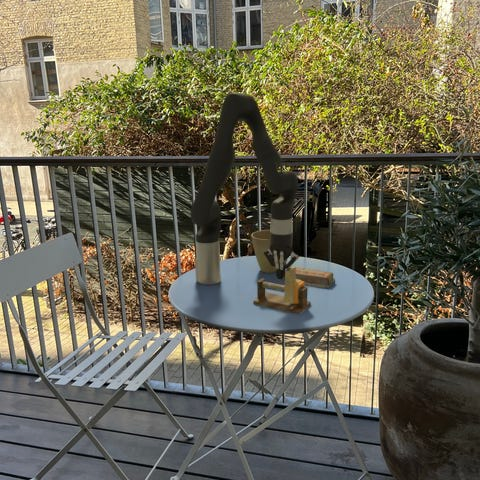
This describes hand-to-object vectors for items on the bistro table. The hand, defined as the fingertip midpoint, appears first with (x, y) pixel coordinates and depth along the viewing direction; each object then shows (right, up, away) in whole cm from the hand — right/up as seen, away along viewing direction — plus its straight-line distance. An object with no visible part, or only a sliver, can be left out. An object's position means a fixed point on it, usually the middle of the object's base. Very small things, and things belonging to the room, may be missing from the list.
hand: (280, 278), depth 158 cm
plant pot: (-2, 0, +37) cm, 37 cm away
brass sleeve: (+4, -7, -1) cm, 8 cm away
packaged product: (+14, -4, +24) cm, 28 cm away
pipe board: (+1, -9, +2) cm, 10 cm away
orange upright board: (+6, -7, -2) cm, 10 cm away
